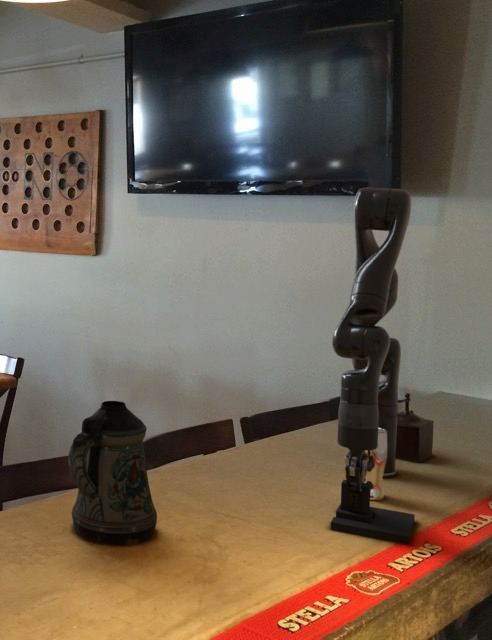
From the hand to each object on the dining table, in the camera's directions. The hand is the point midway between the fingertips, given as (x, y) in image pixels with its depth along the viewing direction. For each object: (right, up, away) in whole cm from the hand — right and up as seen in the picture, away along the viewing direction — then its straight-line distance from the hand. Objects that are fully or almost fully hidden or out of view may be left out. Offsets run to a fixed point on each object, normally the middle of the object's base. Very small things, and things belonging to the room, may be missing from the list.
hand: (355, 507), depth 164 cm
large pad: (+3, -3, -2) cm, 5 cm away
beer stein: (-50, -3, -8) cm, 51 cm away
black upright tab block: (0, -2, 0) cm, 2 cm away
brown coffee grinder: (+33, -2, +52) cm, 61 cm away
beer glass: (+10, -3, +16) cm, 19 cm away
